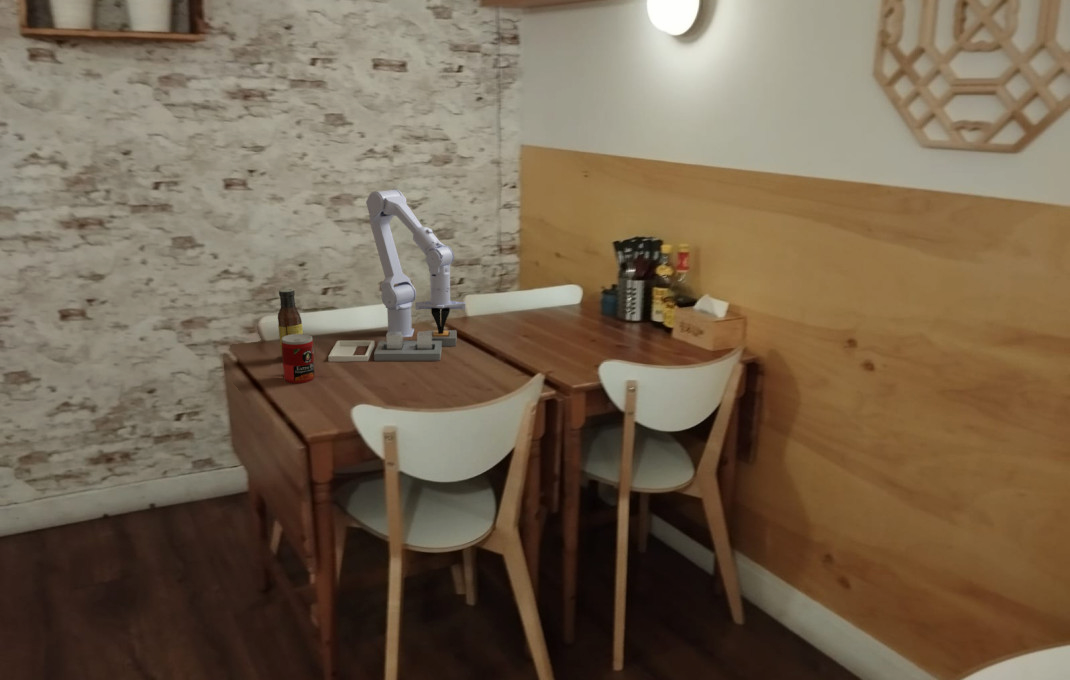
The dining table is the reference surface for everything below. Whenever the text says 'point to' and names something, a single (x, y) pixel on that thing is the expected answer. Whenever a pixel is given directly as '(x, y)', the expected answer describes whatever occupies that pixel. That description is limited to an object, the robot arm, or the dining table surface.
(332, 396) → the dining table surface
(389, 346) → the steel block
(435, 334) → the button
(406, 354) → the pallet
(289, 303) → the sauce bottle
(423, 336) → the block
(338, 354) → the tray
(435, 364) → the dining table surface
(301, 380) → the canned food
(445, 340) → the button housing
